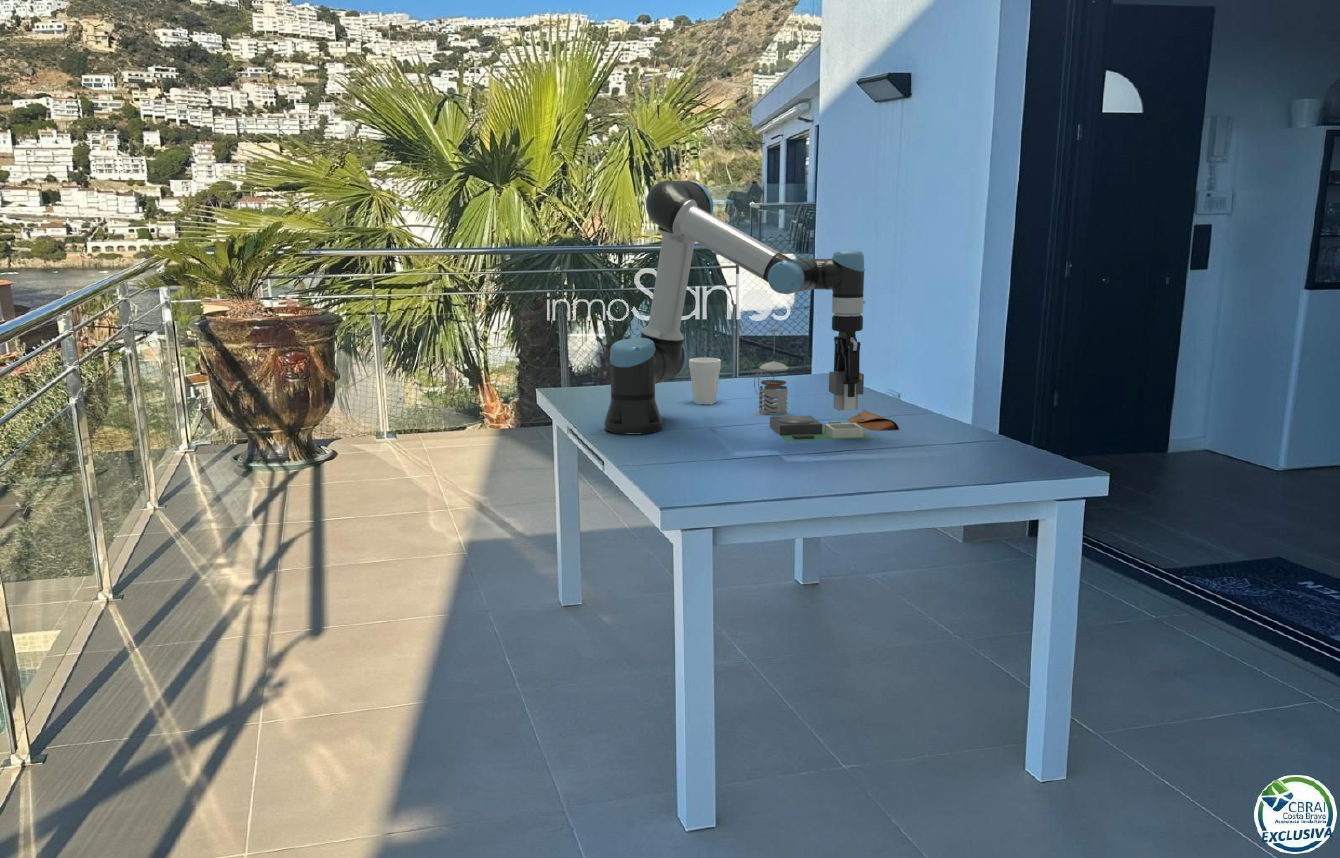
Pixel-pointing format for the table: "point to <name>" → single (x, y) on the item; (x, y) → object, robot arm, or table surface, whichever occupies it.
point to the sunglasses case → (873, 422)
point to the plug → (838, 388)
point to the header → (844, 430)
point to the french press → (772, 389)
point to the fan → (795, 425)
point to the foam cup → (704, 379)
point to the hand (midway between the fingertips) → (845, 407)
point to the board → (817, 436)
